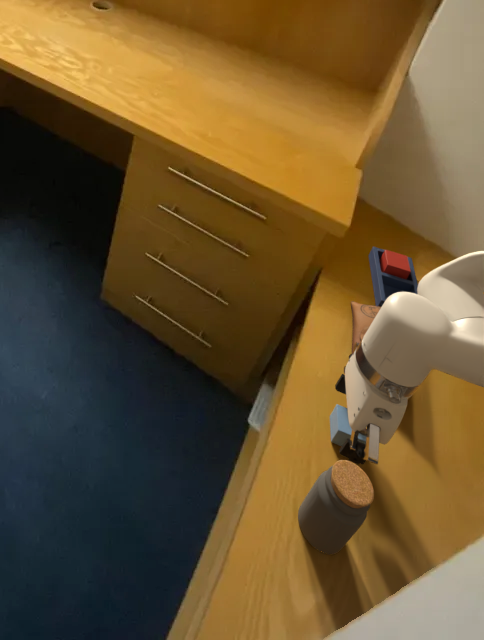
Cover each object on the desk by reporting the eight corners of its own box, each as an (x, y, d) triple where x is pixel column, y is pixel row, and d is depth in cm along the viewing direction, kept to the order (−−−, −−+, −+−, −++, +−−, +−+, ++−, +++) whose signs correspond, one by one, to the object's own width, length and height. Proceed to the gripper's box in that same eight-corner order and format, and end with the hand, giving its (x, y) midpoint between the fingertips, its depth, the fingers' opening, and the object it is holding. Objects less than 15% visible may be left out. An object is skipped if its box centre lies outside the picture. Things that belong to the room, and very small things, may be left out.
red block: (400, 268, 107) (407, 255, 105) (403, 284, 103) (410, 271, 101) (378, 261, 108) (385, 249, 106) (381, 277, 105) (387, 264, 103)
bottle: (335, 505, 74) (368, 459, 66) (349, 560, 69) (387, 517, 61) (292, 496, 75) (321, 450, 67) (303, 549, 70) (335, 506, 62)
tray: (406, 267, 108) (411, 257, 106) (418, 323, 97) (424, 314, 96) (368, 255, 110) (372, 246, 109) (376, 309, 100) (381, 300, 98)
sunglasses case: (348, 297, 101) (377, 287, 97) (377, 322, 100) (408, 313, 96) (346, 383, 88) (380, 376, 83) (380, 412, 87) (416, 407, 82)
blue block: (356, 427, 82) (364, 415, 80) (359, 454, 79) (367, 442, 77) (329, 415, 84) (336, 403, 82) (330, 442, 81) (338, 430, 79)
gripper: (432, 444, 63) (383, 500, 72) (407, 320, 77) (368, 380, 85) (364, 416, 66) (324, 473, 74) (351, 301, 79) (319, 360, 88)
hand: (348, 423), depth 80 cm, fingers open, 9 cm apart
